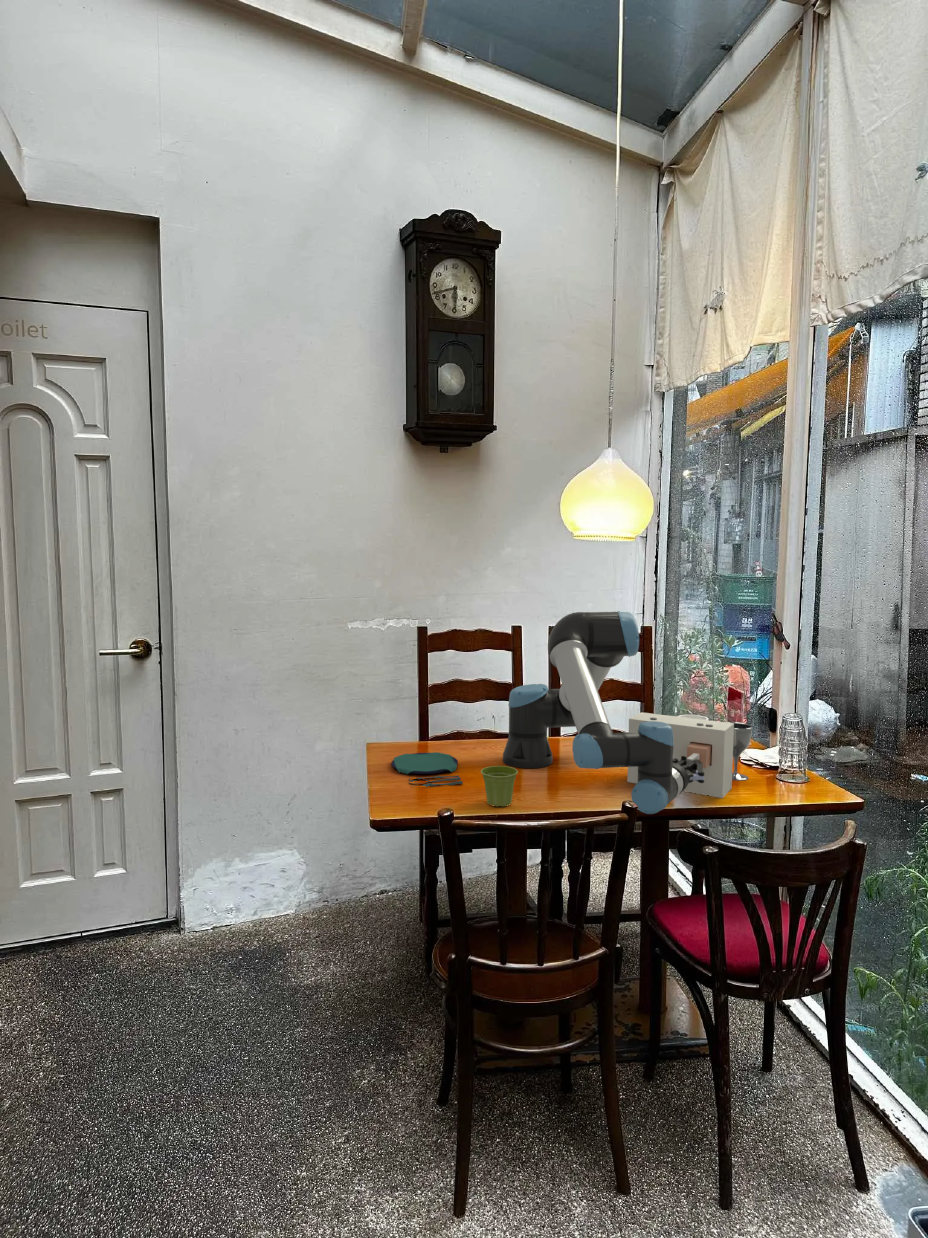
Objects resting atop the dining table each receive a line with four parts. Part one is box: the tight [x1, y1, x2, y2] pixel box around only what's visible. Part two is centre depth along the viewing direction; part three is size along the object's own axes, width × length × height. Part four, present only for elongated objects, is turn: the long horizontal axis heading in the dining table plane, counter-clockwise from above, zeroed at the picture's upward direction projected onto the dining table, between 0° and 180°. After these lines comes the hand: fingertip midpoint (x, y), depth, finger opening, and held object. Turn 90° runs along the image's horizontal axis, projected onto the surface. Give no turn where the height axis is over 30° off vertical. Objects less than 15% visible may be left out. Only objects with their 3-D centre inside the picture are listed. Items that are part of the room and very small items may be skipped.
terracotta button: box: [687, 742, 712, 768], centre depth 205 cm, size 6×5×5 cm
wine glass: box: [727, 721, 753, 782], centre depth 223 cm, size 8×8×15 cm
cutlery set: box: [391, 751, 464, 787], centre depth 227 cm, size 20×30×2 cm, turn 10°
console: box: [626, 711, 734, 799], centre depth 214 cm, size 10×26×18 cm, turn 58°
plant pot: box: [480, 765, 519, 807], centre depth 199 cm, size 9×9×9 cm
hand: (696, 758), depth 202 cm, fingers closed
